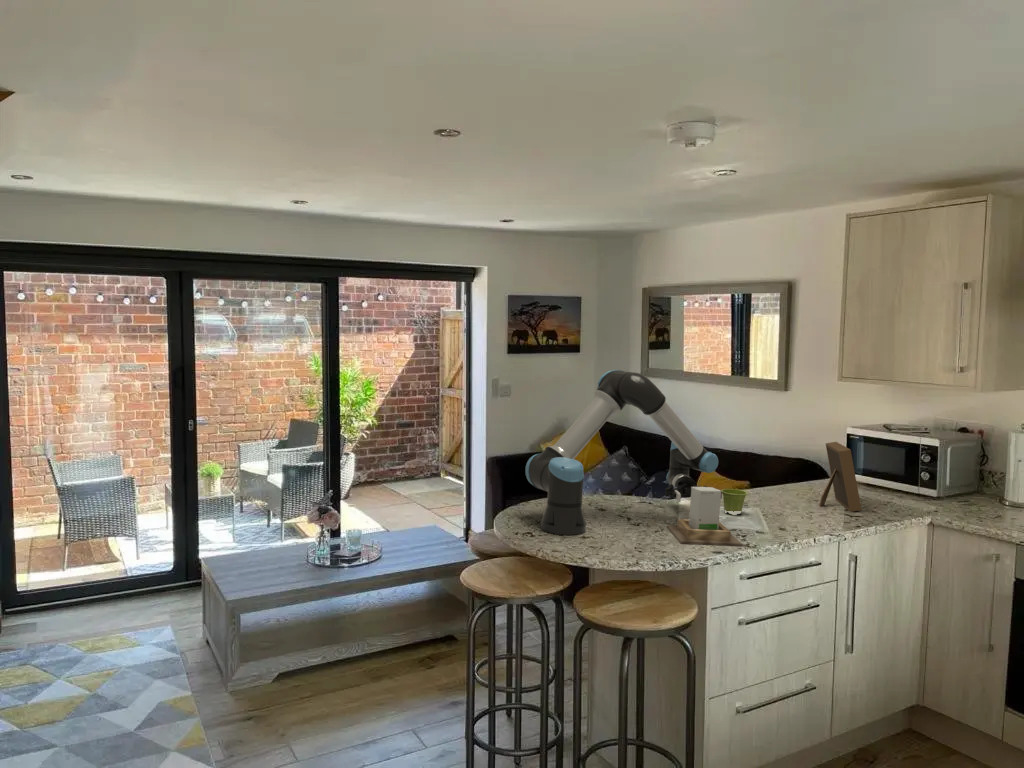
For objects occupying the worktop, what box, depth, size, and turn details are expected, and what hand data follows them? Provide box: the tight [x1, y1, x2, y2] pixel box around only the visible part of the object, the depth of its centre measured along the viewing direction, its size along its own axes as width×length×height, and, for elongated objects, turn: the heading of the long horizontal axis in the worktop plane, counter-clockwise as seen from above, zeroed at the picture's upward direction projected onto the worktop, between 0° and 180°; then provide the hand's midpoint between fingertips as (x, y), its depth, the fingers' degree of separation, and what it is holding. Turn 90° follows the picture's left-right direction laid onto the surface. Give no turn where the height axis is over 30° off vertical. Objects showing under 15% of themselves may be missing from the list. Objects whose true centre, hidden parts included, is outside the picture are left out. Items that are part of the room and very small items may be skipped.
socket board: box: [666, 518, 743, 547], centre depth 253 cm, size 20×20×4 cm
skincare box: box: [688, 486, 722, 530], centre depth 253 cm, size 8×7×16 cm
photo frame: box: [818, 441, 862, 513], centre depth 311 cm, size 15×22×25 cm
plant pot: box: [720, 488, 748, 512], centre depth 288 cm, size 9×9×9 cm
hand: (699, 498), depth 260 cm, fingers open, 13 cm apart
